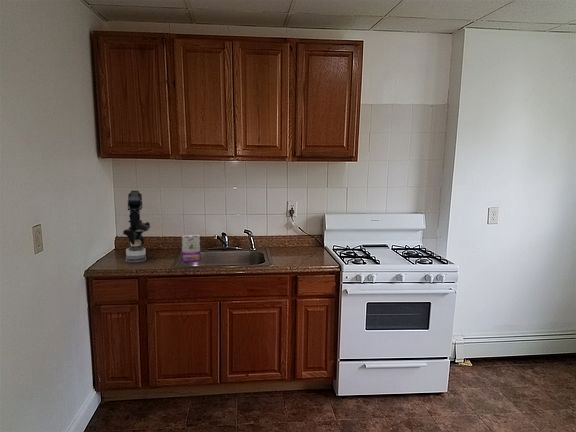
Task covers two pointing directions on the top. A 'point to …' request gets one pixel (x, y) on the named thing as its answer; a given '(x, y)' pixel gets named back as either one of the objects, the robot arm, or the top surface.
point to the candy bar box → (191, 248)
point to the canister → (135, 254)
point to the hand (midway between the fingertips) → (135, 243)
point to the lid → (136, 243)
